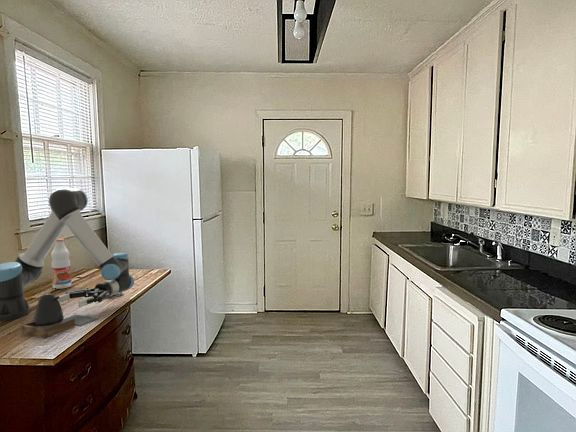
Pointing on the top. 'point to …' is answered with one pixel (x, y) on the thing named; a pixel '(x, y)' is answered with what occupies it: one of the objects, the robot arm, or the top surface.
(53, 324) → the pump dispenser
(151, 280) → the top surface
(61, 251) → the fruit juice
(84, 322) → the grey mat
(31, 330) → the walnut caddy
